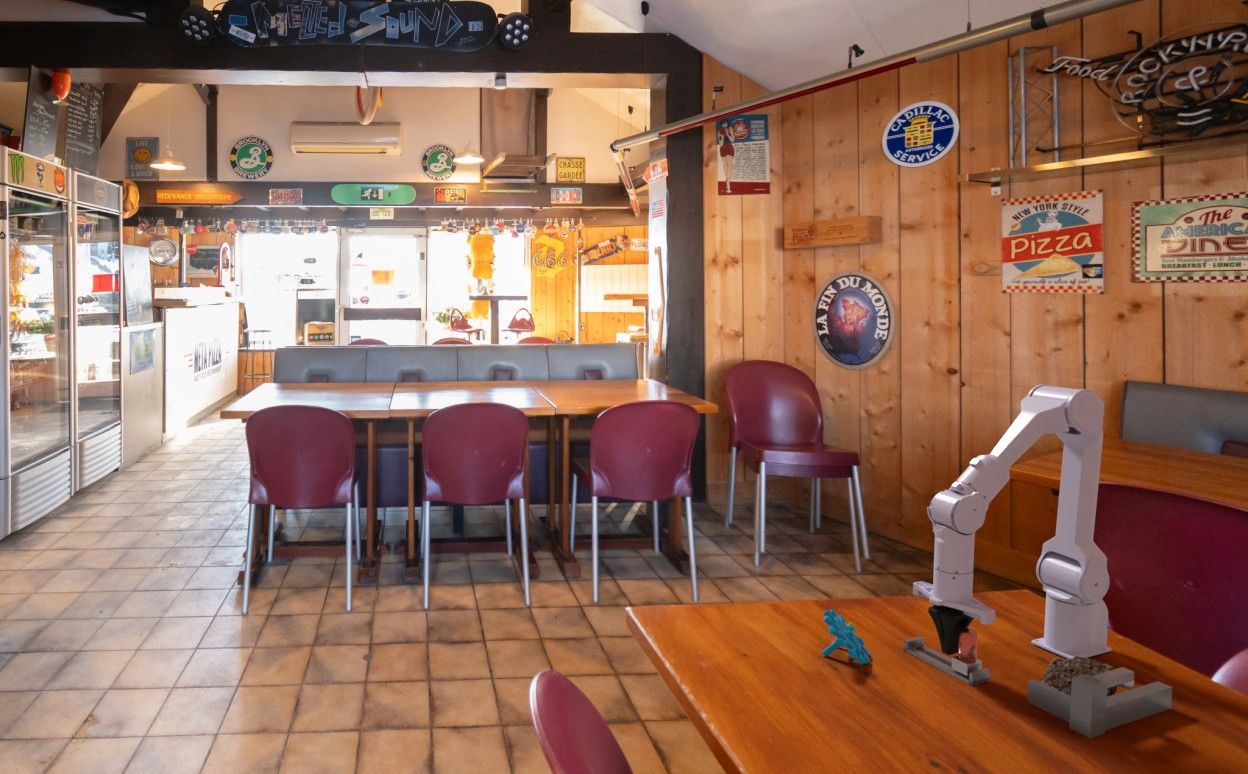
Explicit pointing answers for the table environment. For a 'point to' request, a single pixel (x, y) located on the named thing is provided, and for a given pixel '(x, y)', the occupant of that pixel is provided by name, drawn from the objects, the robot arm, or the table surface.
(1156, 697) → the grey bracket piece
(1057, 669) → the concrete sample
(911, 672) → the table surface
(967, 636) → the lever
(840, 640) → the gear
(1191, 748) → the table surface
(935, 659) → the lever rail
